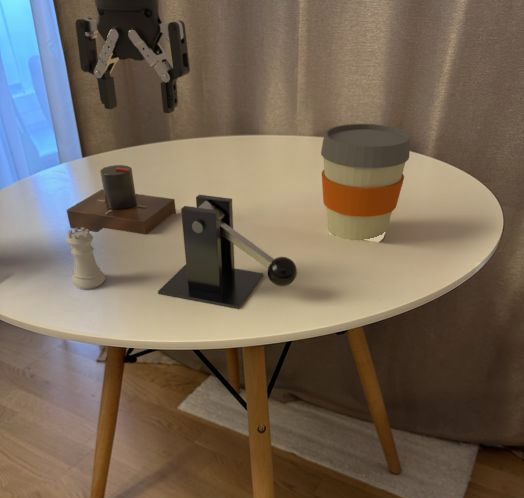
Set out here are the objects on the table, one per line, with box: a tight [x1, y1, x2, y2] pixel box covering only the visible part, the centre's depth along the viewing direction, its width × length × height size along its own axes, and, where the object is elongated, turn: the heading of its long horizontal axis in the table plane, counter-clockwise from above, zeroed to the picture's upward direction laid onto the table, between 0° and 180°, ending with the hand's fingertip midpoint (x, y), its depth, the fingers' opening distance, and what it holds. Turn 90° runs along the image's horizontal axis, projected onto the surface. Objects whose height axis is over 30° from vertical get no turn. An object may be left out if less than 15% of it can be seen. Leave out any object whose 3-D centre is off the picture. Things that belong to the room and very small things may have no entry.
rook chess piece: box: [65, 227, 106, 290], centre depth 70 cm, size 4×4×8 cm
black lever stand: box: [157, 194, 265, 310], centre depth 68 cm, size 11×9×12 cm
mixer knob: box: [99, 164, 137, 209], centre depth 87 cm, size 5×5×6 cm
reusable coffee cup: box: [320, 123, 411, 241], centre depth 82 cm, size 13×13×15 cm
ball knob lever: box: [198, 201, 298, 288], centre depth 66 cm, size 14×4×4 cm
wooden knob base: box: [66, 188, 177, 235], centre depth 89 cm, size 14×10×3 cm
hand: (139, 110), depth 73 cm, fingers open, 8 cm apart
